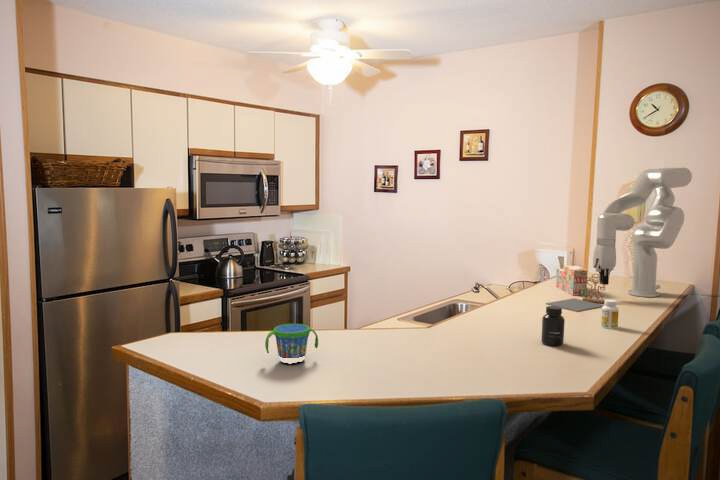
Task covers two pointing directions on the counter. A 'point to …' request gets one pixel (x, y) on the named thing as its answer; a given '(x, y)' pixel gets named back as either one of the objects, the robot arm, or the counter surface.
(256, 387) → the counter surface
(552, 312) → the supplement bottle
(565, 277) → the stack of blocks
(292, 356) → the snack cup
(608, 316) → the supplement bottle
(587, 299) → the gingerbread man figurine
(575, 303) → the mat
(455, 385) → the counter surface
